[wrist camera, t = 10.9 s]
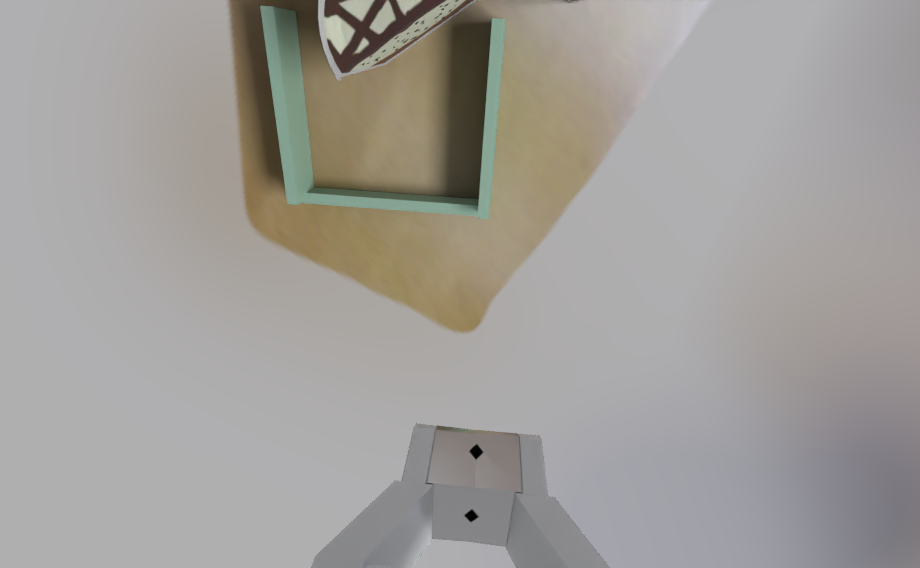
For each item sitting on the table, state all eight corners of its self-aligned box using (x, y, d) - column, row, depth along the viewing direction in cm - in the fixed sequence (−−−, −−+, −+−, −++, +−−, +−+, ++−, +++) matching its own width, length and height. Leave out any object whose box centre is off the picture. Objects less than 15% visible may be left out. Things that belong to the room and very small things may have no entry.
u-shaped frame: (283, 10, 36) (260, 5, 32) (505, 22, 35) (506, 19, 31) (305, 196, 43) (288, 209, 39) (489, 210, 42) (488, 224, 39)
